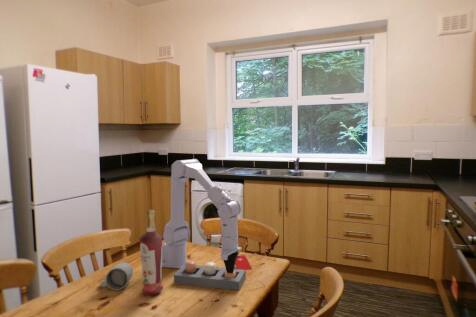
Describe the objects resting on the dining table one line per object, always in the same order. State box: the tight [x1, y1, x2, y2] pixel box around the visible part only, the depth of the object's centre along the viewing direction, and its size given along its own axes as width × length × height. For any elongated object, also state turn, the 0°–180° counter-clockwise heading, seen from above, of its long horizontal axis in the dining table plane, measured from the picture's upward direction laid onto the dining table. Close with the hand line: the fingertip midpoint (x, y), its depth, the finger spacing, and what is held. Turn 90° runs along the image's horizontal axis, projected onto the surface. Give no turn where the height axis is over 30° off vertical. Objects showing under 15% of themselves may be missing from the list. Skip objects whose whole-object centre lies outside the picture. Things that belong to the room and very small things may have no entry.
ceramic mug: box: [99, 261, 134, 291], centre depth 116 cm, size 11×8×8 cm
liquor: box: [139, 209, 164, 296], centre depth 110 cm, size 7×7×28 cm
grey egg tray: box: [173, 264, 247, 291], centre depth 119 cm, size 24×10×3 cm, turn 76°
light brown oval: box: [225, 271, 236, 278], centre depth 117 cm, size 4×4×3 cm
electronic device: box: [235, 255, 253, 271], centre depth 136 cm, size 6×1×15 cm
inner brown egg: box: [185, 260, 197, 273], centre depth 121 cm, size 4×4×3 cm
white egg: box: [204, 261, 217, 275], centre depth 119 cm, size 4×4×3 cm
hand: (230, 272), depth 117 cm, fingers closed, pressing on light brown oval
